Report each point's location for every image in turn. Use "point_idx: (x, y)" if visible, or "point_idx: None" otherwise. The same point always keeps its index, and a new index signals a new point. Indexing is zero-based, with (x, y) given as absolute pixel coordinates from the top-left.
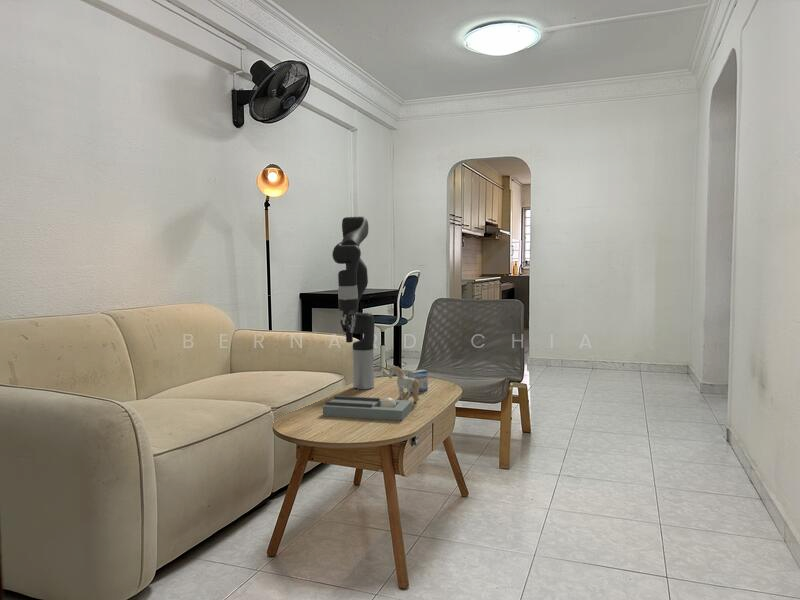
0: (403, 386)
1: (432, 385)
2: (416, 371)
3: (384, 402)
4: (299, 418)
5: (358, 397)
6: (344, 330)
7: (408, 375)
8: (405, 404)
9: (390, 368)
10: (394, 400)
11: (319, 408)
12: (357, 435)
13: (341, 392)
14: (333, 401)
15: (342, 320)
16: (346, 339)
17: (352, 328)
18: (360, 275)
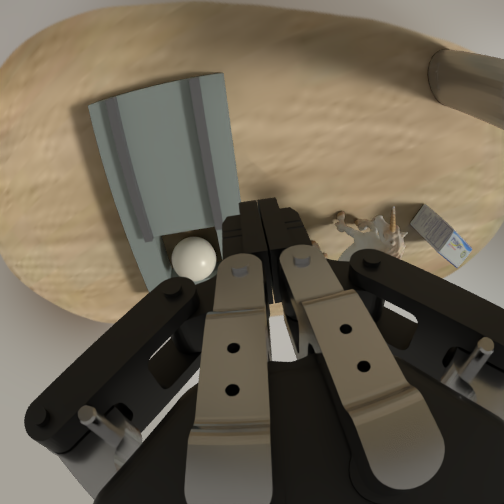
0: (343, 253)
1: (465, 233)
2: (451, 250)
3: (174, 265)
4: (53, 64)
5: (205, 166)
6: (157, 307)
7: (446, 227)
8: None
9: (391, 238)
10: (202, 279)
11: (167, 39)
12: (35, 260)
13: (387, 25)
14: (154, 97)
15: (48, 447)
16: (239, 215)
17: (297, 339)
18: None
